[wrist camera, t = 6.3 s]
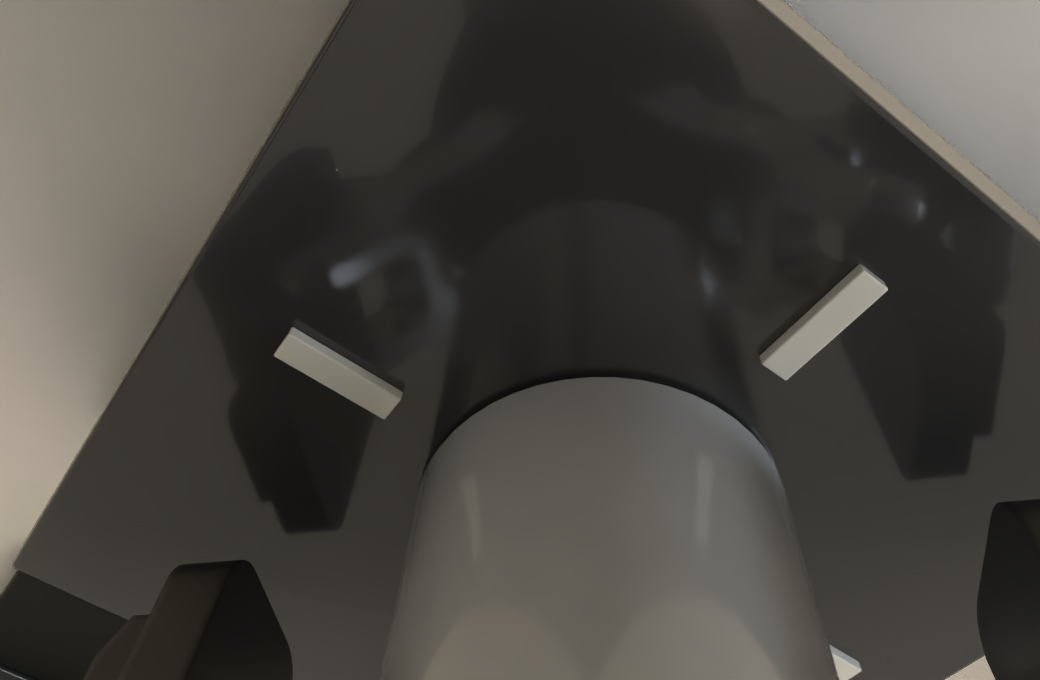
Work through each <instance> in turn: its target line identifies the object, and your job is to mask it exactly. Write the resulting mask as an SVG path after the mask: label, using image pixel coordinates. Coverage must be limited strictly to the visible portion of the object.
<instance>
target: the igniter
mask: <svg viewBox="0 0 1040 680" xmlns="http://www.w3.org/2000/svg"><path fill="white" fill-rule="evenodd" d="M127 622H128V620H126V619H124V618H121V617H119V616H117V615H115V614H113V613H110V612H108V611H106V610H104V609H102V608H100V607H97V606H95V605H93V604H91V603H89V602H86V601H84V600H82V599H80V598H78V597H76V596H73V595H71V594H69V593H67V592H65V591H62V590H60V589H58V588H56V587H54V586H52V585H49V584H47V583H45V582H43V581H41V580H38V579H36V578H34V577H32V576H30V575H28V574H25V573H23V572H21V571H19V570H18V571H17V572H16V574H15V575H14V576H13V578H12V579H11V581H10V582H9V584H8V585H7V587H6V588H5V590H4V591H3V593H2V594H1V596H0V680H83V679H84V677H85V675H86V673H87V671H88V669H89V667H90V665H91V663H92V662H93V660H94V658H95V656H96V655H97V654H98V652H99V651H100V650H101V649H102V648H103V647H104V646H105V645H106V644H107V643H108V642H109V641H110V640H111V639H112V638H113V637H114V635H115V634H116V633H117V632H118V631H119V630H120V629H121V628H122V627H123V626H124V625H125V624H126V623H127Z"/></svg>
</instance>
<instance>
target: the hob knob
mask: <svg viewBox="0 0 1040 680" xmlns="http://www.w3.org/2000/svg"><path fill="white" fill-rule="evenodd" d="M379 680H839V676H838V673H837V669H836V666H835V662H834V659H833V655H832V652H831V649H830V645H829V642H828V638H827V635H826V631H825V628H824V624H823V621H822V617H821V614H820V611H819V607H818V604H817V600H816V597H815V593H814V590H813V586H812V583H811V580H810V576H809V573H808V569H807V566H806V562H805V559H804V555H803V552H802V548H801V545H800V542H799V538H798V535H797V531H796V528H795V524H794V521H793V517H792V514H791V510H790V507H789V504H788V500H787V497H786V493H785V490H784V486H783V484H782V481H781V478H780V476H779V473H778V470H777V468H776V466H775V464H774V463H773V461H772V459H771V458H770V456H769V454H768V453H767V451H766V450H765V448H764V447H763V446H762V445H761V444H760V442H759V441H758V440H757V439H756V438H755V436H754V435H753V434H752V433H751V432H750V431H749V430H747V429H746V428H745V427H744V426H743V425H742V424H741V423H739V422H738V421H737V420H736V419H735V418H734V417H732V416H731V415H729V414H727V413H726V412H724V411H723V410H721V409H720V408H718V407H717V406H715V405H714V404H712V403H710V402H708V401H706V400H704V399H702V398H700V397H697V396H695V395H693V394H691V393H688V392H685V391H682V390H680V389H677V388H674V387H671V386H668V385H664V384H659V383H655V382H650V381H646V380H640V379H631V378H623V377H581V378H571V379H562V380H558V381H553V382H548V383H543V384H539V385H535V386H532V387H529V388H526V389H523V390H520V391H517V392H514V393H512V394H510V395H508V396H506V397H504V398H501V399H499V400H497V401H495V402H493V403H491V404H489V405H488V406H486V407H485V408H483V409H481V410H480V411H478V412H477V413H475V414H474V415H472V416H471V417H470V418H468V419H467V420H466V421H465V422H464V423H462V424H461V425H460V426H459V427H458V428H456V429H455V430H454V431H453V432H452V433H451V434H450V436H449V437H448V438H447V439H446V440H445V441H444V442H443V443H442V445H441V446H440V447H439V448H438V450H437V451H436V453H435V454H434V456H433V458H432V459H431V461H430V462H429V464H428V466H427V468H426V471H425V473H424V475H423V478H422V480H421V483H420V488H419V492H418V496H417V500H416V505H415V510H414V515H413V519H412V524H411V529H410V534H409V539H408V543H407V548H406V553H405V558H404V562H403V567H402V572H401V577H400V582H399V586H398V591H397V596H396V601H395V606H394V610H393V615H392V620H391V625H390V630H389V634H388V639H387V644H386V649H385V653H384V658H383V663H382V668H381V673H380V677H379Z"/></svg>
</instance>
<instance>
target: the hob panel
mask: <svg viewBox="0 0 1040 680" xmlns="http://www.w3.org/2000/svg"><path fill="white" fill-rule="evenodd" d="M581 377H623V378H631V379H640V380H646V381H650V382H655V383H659V384H664V385H668V386H671V387H674V388H677V389H680V390H682V391H685V392H688V393H691V394H693V395H695V396H697V397H700V398H702V399H704V400H706V401H708V402H710V403H712V404H714V405H715V406H717V407H718V408H720V409H721V410H723V411H724V412H726V413H727V414H729V415H731V416H732V417H734V418H735V419H736V420H737V421H738V422H739V423H741V424H742V425H743V426H744V427H745V428H746V429H747V430H749V431H750V432H751V433H752V434H753V435H754V436H755V438H756V439H757V440H758V441H759V442H760V444H761V445H762V446H763V447H764V448H765V450H766V451H767V453H768V454H769V456H770V458H771V459H772V461H773V463H774V464H775V466H776V468H777V470H778V473H779V476H780V478H781V481H782V484H783V486H784V490H785V493H786V497H787V500H788V504H789V507H790V510H791V514H792V517H793V521H794V524H795V528H796V531H797V535H798V538H799V542H800V545H801V548H802V552H803V555H804V559H805V562H806V566H807V569H808V573H809V576H810V580H811V583H812V586H813V590H814V593H815V597H816V600H817V604H818V607H819V611H820V614H821V617H822V621H823V624H824V628H825V631H826V635H827V638H828V642H829V645H830V649H831V652H832V655H833V659H834V662H835V666H836V669H837V673H838V676H839V680H945V679H947V678H948V677H950V676H952V675H953V674H955V673H957V672H958V671H960V670H961V669H963V668H965V667H966V666H968V665H970V664H971V663H973V662H975V661H976V660H978V659H980V658H981V657H983V656H984V655H985V653H984V650H983V647H982V643H981V639H980V634H979V629H978V622H977V597H978V591H979V585H980V579H981V573H982V567H983V561H984V555H985V548H986V542H987V536H988V530H989V524H990V518H991V513H992V510H993V508H994V506H995V505H996V504H997V503H999V502H1007V501H1020V500H1033V499H1040V222H1039V221H1038V220H1037V219H1036V218H1035V217H1033V216H1032V215H1031V214H1030V213H1029V212H1028V211H1026V210H1025V209H1024V208H1023V207H1022V206H1021V205H1020V204H1018V203H1017V202H1016V201H1015V200H1014V199H1013V198H1011V197H1010V196H1009V195H1008V194H1007V193H1006V192H1004V191H1003V190H1002V189H1001V188H1000V187H999V186H997V185H996V184H995V183H994V182H993V181H992V180H990V179H989V178H988V177H987V176H986V175H985V174H983V173H982V172H981V171H980V170H979V169H978V168H977V167H975V166H974V165H973V164H972V163H971V162H970V161H968V160H967V159H966V158H965V157H964V156H963V155H961V154H960V153H959V152H958V151H957V150H956V149H954V148H953V147H952V146H951V145H950V144H949V143H947V142H946V141H945V140H944V139H943V138H942V137H940V136H939V135H938V134H937V133H936V132H935V131H934V130H932V129H931V128H930V127H929V126H928V125H927V124H925V123H924V122H923V121H922V120H921V119H920V118H918V117H917V116H916V115H915V114H914V113H913V112H911V111H910V110H909V109H908V108H907V107H906V106H904V105H903V104H902V103H901V102H900V101H899V100H897V99H896V98H895V97H894V96H893V95H892V94H891V93H889V92H888V91H887V90H886V89H885V88H884V87H882V86H881V85H880V84H879V83H878V82H877V81H875V80H874V79H873V78H872V77H871V76H870V75H868V74H867V73H866V72H865V71H864V70H863V69H861V68H860V67H859V66H858V65H857V64H856V63H854V62H853V61H852V60H851V59H850V58H849V57H848V56H846V55H845V54H844V53H843V52H842V51H841V50H839V49H838V48H837V47H836V46H835V45H834V44H832V43H831V42H830V41H829V40H828V39H827V38H825V37H824V36H823V35H822V34H821V33H820V32H818V31H817V30H816V29H815V28H814V27H813V26H811V25H810V24H809V23H808V22H807V21H806V20H805V19H803V18H802V17H801V16H800V15H799V14H798V13H796V12H795V11H794V10H793V9H792V8H791V7H789V6H788V5H787V4H786V3H785V2H784V1H782V0H348V1H347V3H346V4H345V6H344V8H343V9H342V11H341V13H340V14H339V16H338V18H337V19H336V21H335V23H334V24H333V26H332V28H331V30H330V31H329V33H328V35H327V36H326V38H325V40H324V41H323V43H322V45H321V46H320V48H319V50H318V51H317V53H316V55H315V56H314V58H313V60H312V61H311V63H310V65H309V66H308V68H307V70H306V71H305V73H304V75H303V76H302V78H301V80H300V81H299V83H298V85H297V86H296V88H295V90H294V91H293V93H292V95H291V96H290V98H289V100H288V101H287V103H286V105H285V106H284V108H283V110H282V112H281V113H280V115H279V117H278V118H277V120H276V122H275V123H274V125H273V127H272V128H271V130H270V132H269V133H268V135H267V137H266V138H265V140H264V142H263V143H262V145H261V147H260V148H259V150H258V152H257V153H256V155H255V157H254V158H253V160H252V162H251V163H250V165H249V167H248V168H247V170H246V172H245V173H244V175H243V177H242V178H241V180H240V182H239V183H238V185H237V187H236V188H235V190H234V192H233V194H232V195H231V197H230V199H229V200H228V202H227V204H226V205H225V207H224V209H223V210H222V212H221V214H220V215H219V217H218V219H217V220H216V222H215V224H214V225H213V227H212V229H211V230H210V232H209V234H208V235H207V237H206V239H205V240H204V242H203V244H202V245H201V247H200V249H199V250H198V252H197V254H196V255H195V257H194V259H193V260H192V262H191V264H190V265H189V267H188V269H187V270H186V272H185V274H184V276H183V277H182V279H181V281H180V282H179V284H178V286H177V287H176V289H175V291H174V292H173V294H172V296H171V297H170V299H169V301H168V302H167V304H166V306H165V307H164V309H163V311H162V312H161V314H160V316H159V317H158V319H157V321H156V322H155V324H154V326H153V327H152V329H151V331H150V332H149V334H148V336H147V337H146V339H145V341H144V342H143V344H142V346H141V347H140V349H139V351H138V352H137V354H136V356H135V358H134V359H133V361H132V363H131V364H130V366H129V368H128V369H127V371H126V373H125V374H124V376H123V378H122V379H121V381H120V383H119V384H118V386H117V388H116V389H115V391H114V393H113V394H112V396H111V398H110V399H109V401H108V403H107V404H106V406H105V408H104V409H103V411H102V413H101V414H100V416H99V418H98V419H97V421H96V423H95V424H94V426H93V428H92V429H91V431H90V433H89V434H88V436H87V438H86V440H85V441H84V443H83V445H82V446H81V448H80V450H79V451H78V453H77V455H76V456H75V458H74V460H73V461H72V463H71V465H70V466H69V468H68V470H67V471H66V473H65V475H64V476H63V478H62V480H61V481H60V483H59V485H58V486H57V488H56V490H55V491H54V493H53V495H52V496H51V498H50V500H49V501H48V503H47V505H46V506H45V508H44V510H43V511H42V513H41V515H40V516H39V518H38V520H37V522H36V523H35V525H34V527H33V528H32V530H31V532H30V533H29V535H28V537H27V538H26V540H25V542H24V543H23V545H22V547H21V548H20V550H19V552H18V553H17V555H16V557H15V558H14V560H13V564H12V566H13V567H14V568H15V569H17V570H19V571H21V572H23V573H25V574H28V575H30V576H32V577H34V578H36V579H38V580H41V581H43V582H45V583H47V584H49V585H52V586H54V587H56V588H58V589H60V590H62V591H65V592H67V593H69V594H71V595H73V596H76V597H78V598H80V599H82V600H84V601H86V602H89V603H91V604H93V605H95V606H97V607H100V608H102V609H104V610H106V611H108V612H110V613H113V614H115V615H117V616H119V617H121V618H124V619H126V620H128V621H129V620H130V619H131V617H132V616H134V615H148V614H150V612H151V610H152V608H153V606H154V604H155V602H156V600H157V598H158V596H159V594H160V592H161V590H162V588H163V586H164V584H165V582H166V580H167V578H168V576H169V575H170V573H171V572H172V571H173V569H175V568H176V567H177V566H179V565H181V564H194V563H206V562H219V561H232V560H247V561H248V562H250V563H251V564H252V566H253V567H254V569H255V571H256V573H257V575H258V577H259V579H260V582H261V584H262V586H263V588H264V591H265V593H266V595H267V597H268V600H269V602H270V604H271V606H272V608H273V611H274V613H275V615H276V617H277V620H278V622H279V624H280V626H281V629H282V631H283V633H284V635H285V637H286V640H287V642H288V645H289V648H290V651H291V657H292V665H293V680H379V677H380V673H381V668H382V663H383V658H384V653H385V649H386V644H387V639H388V634H389V630H390V625H391V620H392V615H393V610H394V606H395V601H396V596H397V591H398V586H399V582H400V577H401V572H402V567H403V562H404V558H405V553H406V548H407V543H408V539H409V534H410V529H411V524H412V519H413V515H414V510H415V505H416V500H417V496H418V492H419V488H420V483H421V480H422V478H423V475H424V473H425V471H426V468H427V466H428V464H429V462H430V461H431V459H432V458H433V456H434V454H435V453H436V451H437V450H438V448H439V447H440V446H441V445H442V443H443V442H444V441H445V440H446V439H447V438H448V437H449V436H450V434H451V433H452V432H453V431H454V430H455V429H456V428H458V427H459V426H460V425H461V424H462V423H464V422H465V421H466V420H467V419H468V418H470V417H471V416H472V415H474V414H475V413H477V412H478V411H480V410H481V409H483V408H485V407H486V406H488V405H489V404H491V403H493V402H495V401H497V400H499V399H501V398H504V397H506V396H508V395H510V394H512V393H514V392H517V391H520V390H523V389H526V388H529V387H532V386H535V385H539V384H543V383H548V382H553V381H558V380H562V379H571V378H581Z"/></svg>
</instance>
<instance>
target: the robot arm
mask: <svg viewBox="0 0 1040 680" xmlns="http://www.w3.org/2000/svg"><path fill="white" fill-rule="evenodd" d="M977 622H978V629H979V634H980V639H981V643H982V647H983V650H984V653H985V656H986V659H987V661H988V664H989V666H990V668H991V671H992V673H993V675H994V677H995V679H996V680H1040V499H1033V500H1020V501H1007V502H999V503H997V504H996V505H995V506H994V508H993V510H992V513H991V518H990V524H989V530H988V536H987V542H986V548H985V555H984V561H983V567H982V573H981V579H980V585H979V591H978V597H977ZM83 680H293V665H292V657H291V651H290V648H289V645H288V642H287V640H286V637H285V635H284V633H283V631H282V629H281V626H280V624H279V622H278V620H277V617H276V615H275V613H274V611H273V608H272V606H271V604H270V602H269V600H268V597H267V595H266V593H265V591H264V588H263V586H262V584H261V582H260V579H259V577H258V575H257V573H256V571H255V569H254V567H253V566H252V564H251V563H250V562H248V561H247V560H232V561H219V562H206V563H194V564H181V565H179V566H177V567H176V568H175V569H173V571H172V572H171V573H170V575H169V576H168V578H167V580H166V582H165V584H164V586H163V588H162V590H161V592H160V594H159V596H158V598H157V600H156V602H155V604H154V606H153V608H152V610H151V612H150V614H148V615H134V616H132V617H131V619H130V620H129V621H128V622H127V623H126V624H125V625H124V626H123V627H122V628H121V629H120V630H119V631H118V632H117V633H116V634H115V635H114V637H113V638H112V639H111V640H110V641H109V642H108V643H107V644H106V645H105V646H104V647H103V648H102V649H101V650H100V651H99V652H98V654H97V655H96V656H95V658H94V660H93V662H92V663H91V665H90V667H89V669H88V671H87V673H86V675H85V677H84V679H83Z"/></svg>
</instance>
